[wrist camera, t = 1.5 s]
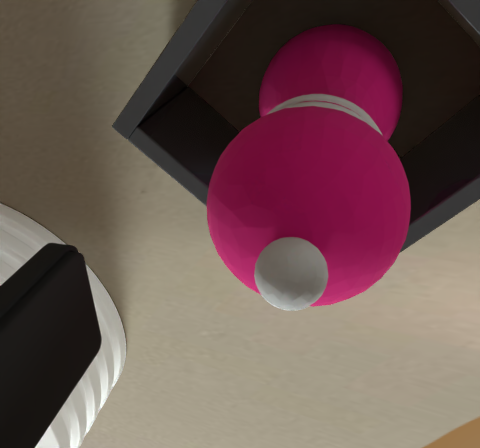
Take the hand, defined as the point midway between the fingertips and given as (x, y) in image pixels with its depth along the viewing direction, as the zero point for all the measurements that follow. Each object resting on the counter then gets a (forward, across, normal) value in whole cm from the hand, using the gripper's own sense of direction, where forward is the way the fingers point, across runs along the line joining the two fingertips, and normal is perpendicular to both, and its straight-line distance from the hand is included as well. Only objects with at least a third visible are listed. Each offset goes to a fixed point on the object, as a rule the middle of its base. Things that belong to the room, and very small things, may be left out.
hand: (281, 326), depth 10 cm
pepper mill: (+21, 0, -1) cm, 21 cm away
